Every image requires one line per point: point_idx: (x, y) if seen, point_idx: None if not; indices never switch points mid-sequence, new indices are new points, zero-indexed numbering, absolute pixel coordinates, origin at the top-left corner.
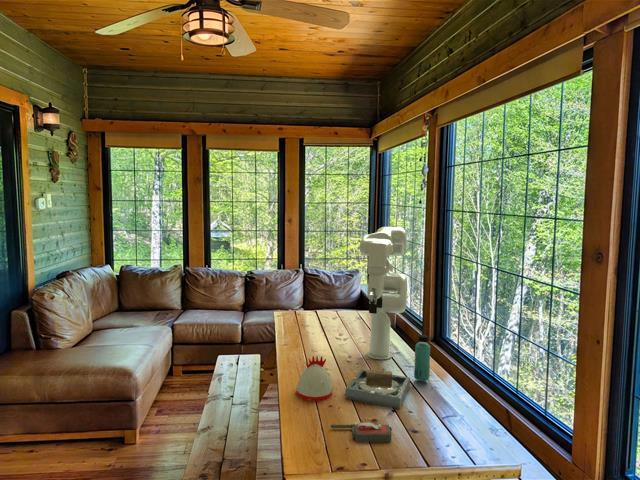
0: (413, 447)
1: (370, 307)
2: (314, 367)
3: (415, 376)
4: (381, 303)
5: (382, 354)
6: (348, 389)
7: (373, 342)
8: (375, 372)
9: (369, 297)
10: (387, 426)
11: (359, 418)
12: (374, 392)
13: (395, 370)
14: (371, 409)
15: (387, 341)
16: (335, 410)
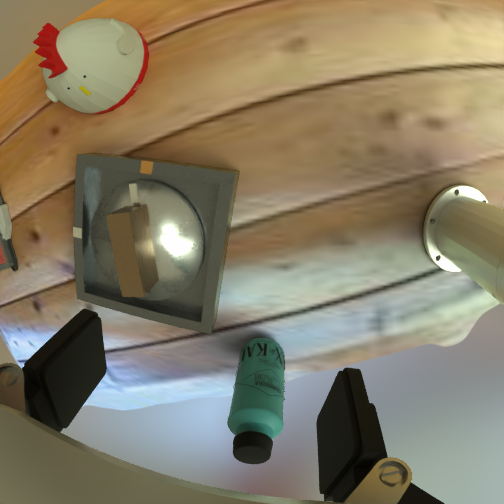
0: (6, 298)
1: (56, 351)
2: (44, 57)
3: (250, 343)
4: (318, 456)
5: (439, 242)
6: (78, 163)
7: (468, 218)
8: (117, 244)
9: (44, 430)
10: (2, 266)
11: (30, 206)
12: (77, 237)
13: (338, 281)
14: (65, 226)
15: (467, 274)
16: (41, 149)
